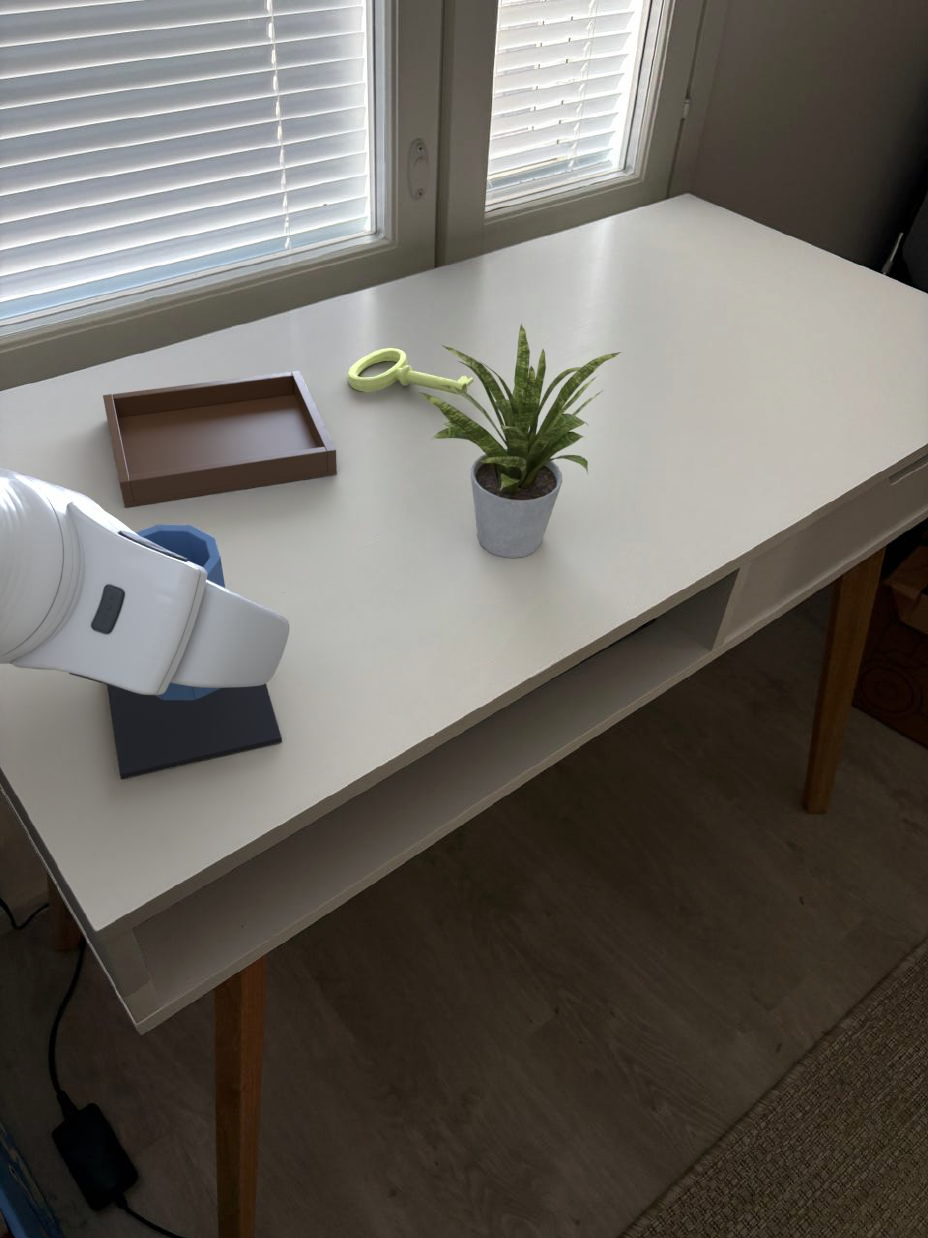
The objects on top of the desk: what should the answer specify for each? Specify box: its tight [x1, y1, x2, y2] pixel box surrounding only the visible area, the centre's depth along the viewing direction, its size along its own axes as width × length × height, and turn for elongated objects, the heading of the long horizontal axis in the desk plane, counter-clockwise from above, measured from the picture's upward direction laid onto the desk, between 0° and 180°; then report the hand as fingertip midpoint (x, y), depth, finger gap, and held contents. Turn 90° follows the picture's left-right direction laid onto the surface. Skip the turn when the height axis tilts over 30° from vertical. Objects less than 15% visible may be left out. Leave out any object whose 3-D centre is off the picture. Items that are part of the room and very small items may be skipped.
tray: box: [102, 370, 338, 508], centre depth 88 cm, size 18×14×2 cm
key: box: [347, 347, 475, 396], centre depth 98 cm, size 7×12×2 cm, turn 80°
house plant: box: [418, 323, 623, 559], centre depth 77 cm, size 14×14×16 cm
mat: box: [106, 683, 283, 780], centre depth 67 cm, size 10×10×1 cm
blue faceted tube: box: [135, 524, 226, 700], centre depth 61 cm, size 6×6×9 cm
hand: (182, 602), depth 61 cm, fingers closed on blue faceted tube, 6 cm apart
